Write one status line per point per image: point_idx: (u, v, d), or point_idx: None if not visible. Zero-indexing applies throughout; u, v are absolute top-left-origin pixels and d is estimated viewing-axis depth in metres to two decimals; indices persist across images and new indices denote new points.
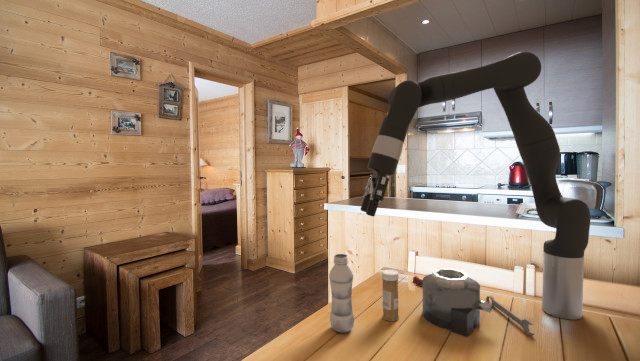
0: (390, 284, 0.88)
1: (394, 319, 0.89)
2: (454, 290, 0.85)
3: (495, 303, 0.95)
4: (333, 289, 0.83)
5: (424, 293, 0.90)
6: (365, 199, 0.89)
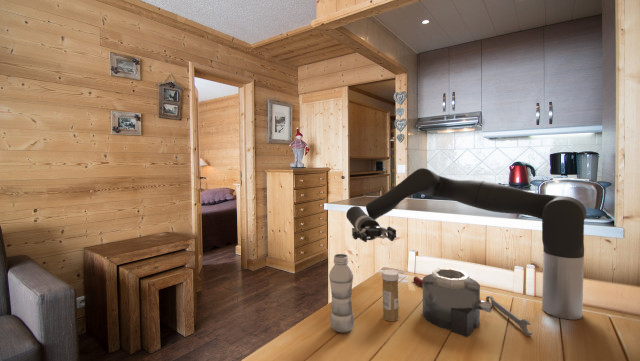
0: (390, 284, 0.88)
1: (394, 319, 0.89)
2: (454, 290, 0.85)
3: (495, 303, 0.95)
4: (333, 289, 0.83)
5: (424, 293, 0.90)
6: (388, 237, 1.04)
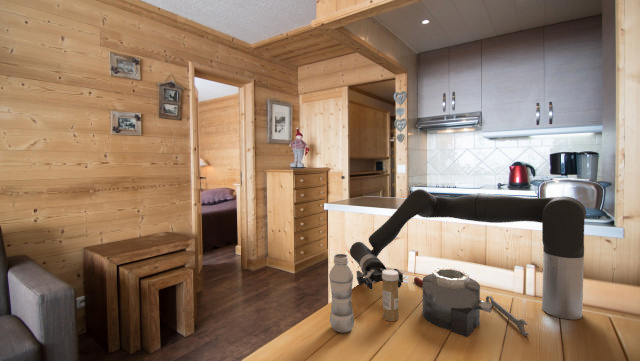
0: (390, 284, 0.88)
1: (394, 319, 0.89)
2: (454, 290, 0.85)
3: (494, 303, 0.95)
4: (333, 289, 0.83)
5: (424, 293, 0.90)
6: None
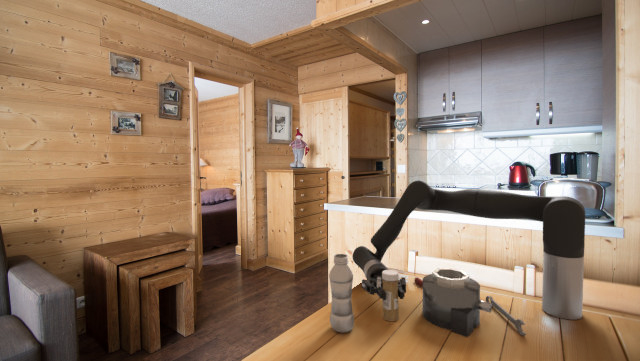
0: (390, 284, 0.88)
1: (394, 319, 0.89)
2: (454, 290, 0.85)
3: (493, 303, 0.95)
4: (333, 289, 0.83)
5: (424, 293, 0.90)
6: None
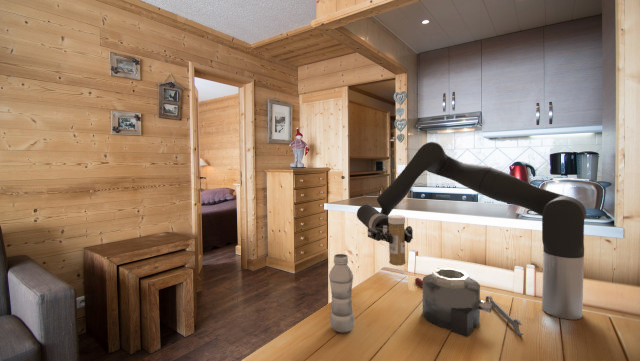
0: (397, 228, 0.87)
1: (401, 264, 0.87)
2: (454, 290, 0.85)
3: (493, 303, 0.95)
4: (333, 289, 0.83)
5: (424, 293, 0.90)
6: None
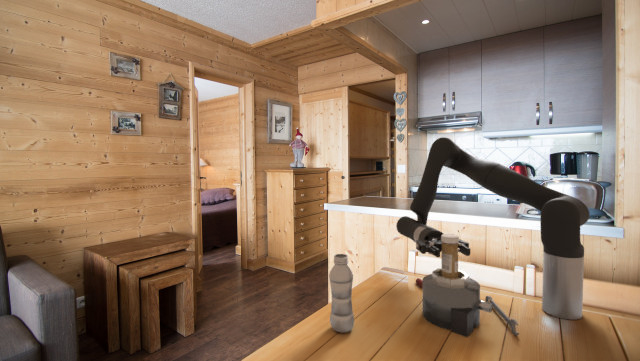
0: (451, 247, 0.88)
1: None
2: (454, 290, 0.85)
3: (492, 303, 0.95)
4: (333, 289, 0.83)
5: (424, 293, 0.90)
6: (461, 251, 0.91)
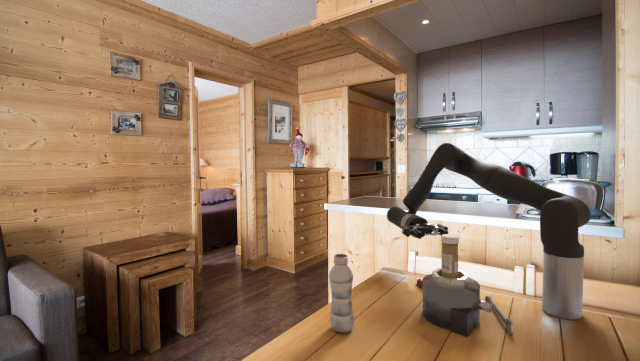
0: (451, 247, 0.88)
1: None
2: (454, 290, 0.85)
3: (491, 303, 0.95)
4: (333, 289, 0.83)
5: (424, 293, 0.90)
6: (440, 234, 1.04)
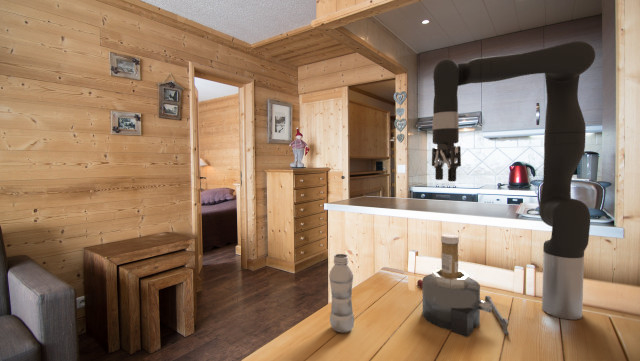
0: (451, 247, 0.88)
1: None
2: (454, 290, 0.85)
3: None
4: (333, 289, 0.83)
5: (424, 293, 0.90)
6: (437, 169, 1.03)
